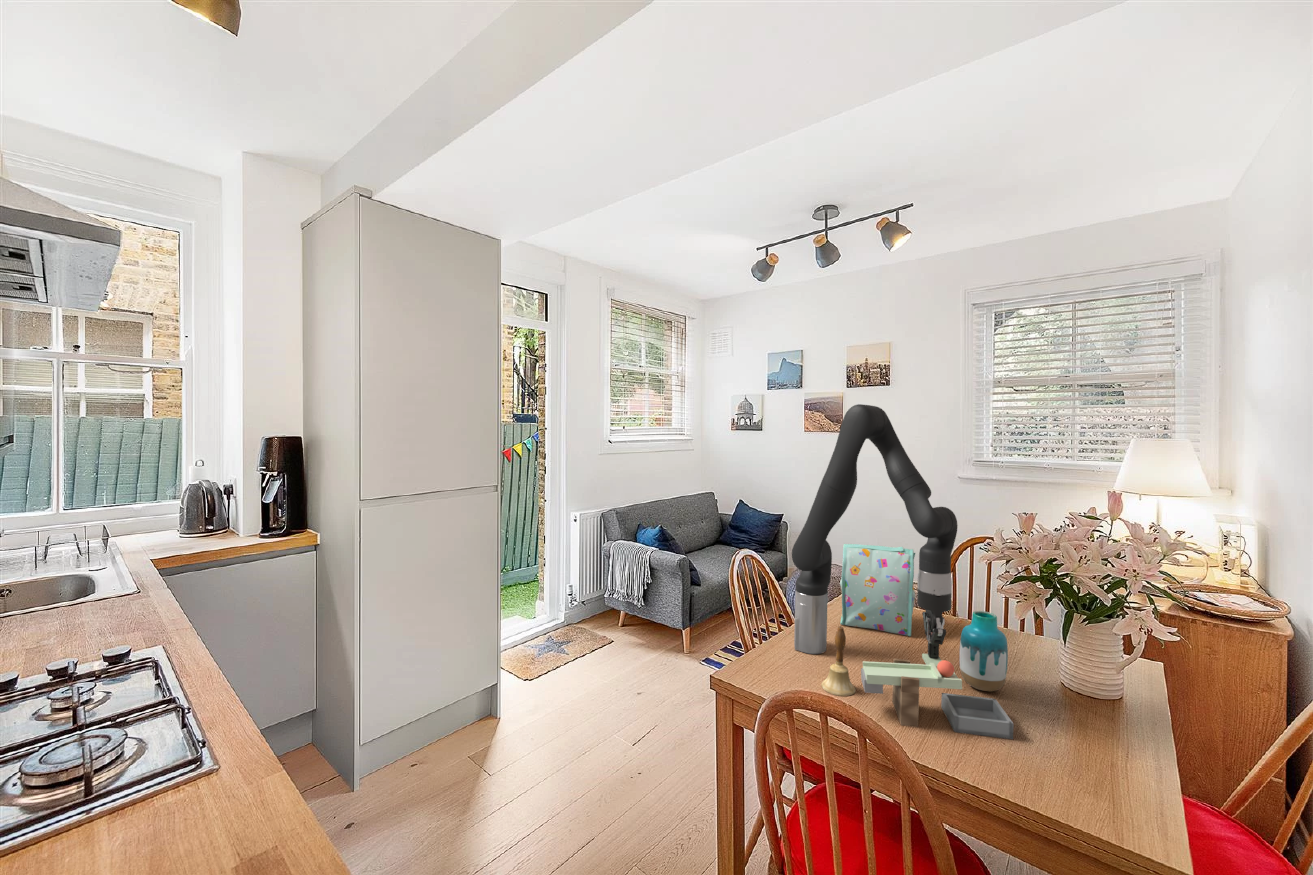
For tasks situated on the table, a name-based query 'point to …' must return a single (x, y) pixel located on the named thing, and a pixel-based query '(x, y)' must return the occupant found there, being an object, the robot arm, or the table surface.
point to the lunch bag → (878, 588)
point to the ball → (945, 668)
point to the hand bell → (839, 671)
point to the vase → (983, 653)
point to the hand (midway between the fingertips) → (933, 657)
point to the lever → (905, 675)
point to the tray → (976, 716)
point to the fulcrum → (906, 698)
